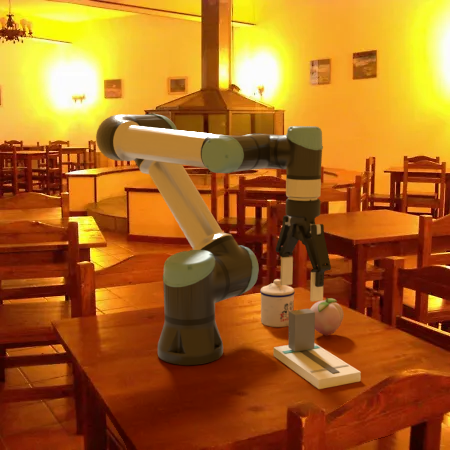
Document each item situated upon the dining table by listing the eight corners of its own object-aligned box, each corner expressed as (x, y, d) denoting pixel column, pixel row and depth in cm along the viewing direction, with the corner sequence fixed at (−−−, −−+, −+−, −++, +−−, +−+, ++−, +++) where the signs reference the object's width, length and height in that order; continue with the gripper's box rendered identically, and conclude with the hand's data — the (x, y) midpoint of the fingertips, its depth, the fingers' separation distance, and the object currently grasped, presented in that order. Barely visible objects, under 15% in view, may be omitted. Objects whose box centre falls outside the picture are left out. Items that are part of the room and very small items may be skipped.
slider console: (318, 389, 129) (318, 378, 129) (273, 355, 148) (273, 346, 147) (360, 381, 133) (360, 371, 133) (311, 349, 151) (311, 340, 151)
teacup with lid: (285, 330, 165) (286, 286, 163) (254, 324, 170) (254, 281, 168) (303, 317, 175) (304, 275, 174) (273, 312, 180) (273, 272, 178)
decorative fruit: (314, 327, 167) (315, 290, 165) (345, 332, 163) (346, 294, 162) (303, 339, 158) (303, 300, 157) (335, 343, 155) (336, 303, 153)
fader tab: (294, 351, 143) (295, 315, 142) (288, 347, 146) (288, 311, 144) (314, 348, 145) (314, 312, 144) (307, 344, 148) (308, 308, 146)
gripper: (350, 204, 130) (346, 305, 134) (290, 190, 152) (288, 277, 156) (317, 206, 127) (314, 310, 131) (262, 191, 150) (261, 280, 153)
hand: (300, 292), depth 143 cm, fingers open, 13 cm apart
